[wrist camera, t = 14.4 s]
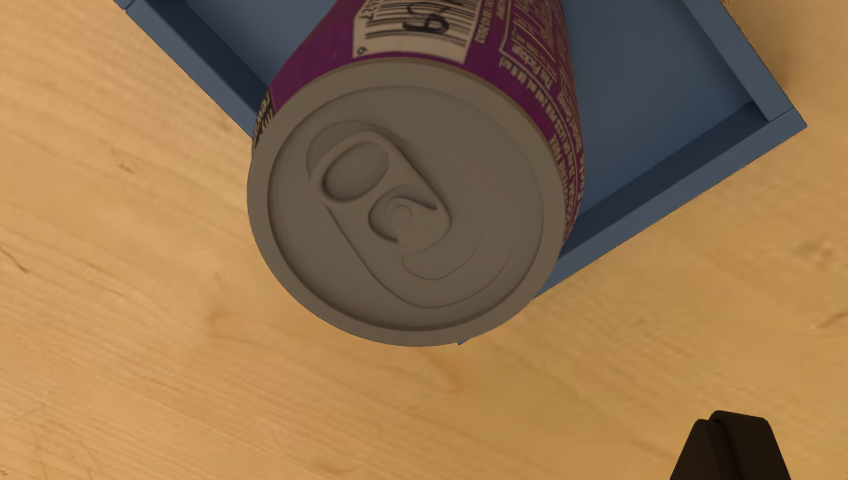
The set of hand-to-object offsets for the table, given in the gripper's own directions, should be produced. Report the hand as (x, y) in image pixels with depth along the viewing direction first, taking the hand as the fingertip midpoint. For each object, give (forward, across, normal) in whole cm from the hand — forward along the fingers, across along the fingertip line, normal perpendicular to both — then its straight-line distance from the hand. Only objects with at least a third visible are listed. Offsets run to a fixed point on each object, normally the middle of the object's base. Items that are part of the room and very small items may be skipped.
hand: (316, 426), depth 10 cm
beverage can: (+18, -1, 0) cm, 18 cm away
